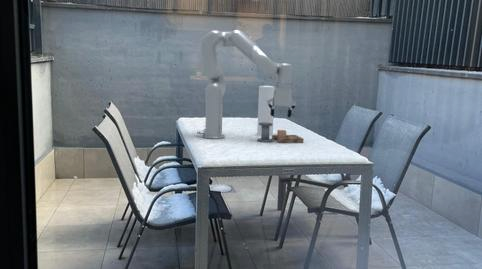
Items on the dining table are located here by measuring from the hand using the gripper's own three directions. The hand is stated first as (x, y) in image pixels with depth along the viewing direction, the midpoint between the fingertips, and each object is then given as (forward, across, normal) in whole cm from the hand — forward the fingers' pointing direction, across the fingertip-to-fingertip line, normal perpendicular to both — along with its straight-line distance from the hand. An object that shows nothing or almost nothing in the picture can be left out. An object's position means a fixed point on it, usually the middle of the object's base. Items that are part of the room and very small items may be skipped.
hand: (280, 116), depth 255 cm
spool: (+14, -8, -1) cm, 16 cm away
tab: (+14, +2, -1) cm, 14 cm away
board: (+13, +5, -1) cm, 14 cm away
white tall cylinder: (+14, -2, +22) cm, 26 cm away
